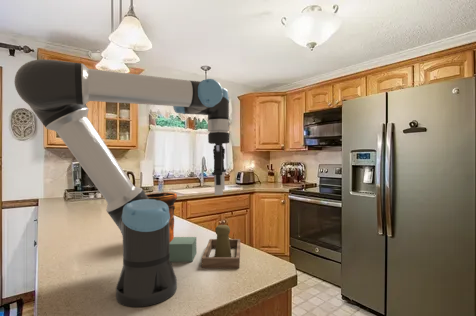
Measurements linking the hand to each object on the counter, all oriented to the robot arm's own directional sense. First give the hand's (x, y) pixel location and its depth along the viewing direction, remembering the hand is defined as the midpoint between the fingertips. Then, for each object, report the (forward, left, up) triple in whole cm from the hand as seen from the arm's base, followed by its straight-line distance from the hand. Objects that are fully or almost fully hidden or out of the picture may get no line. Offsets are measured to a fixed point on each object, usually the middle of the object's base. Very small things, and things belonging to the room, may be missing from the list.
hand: (220, 192), depth 96 cm
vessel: (+16, +27, -23) cm, 39 cm away
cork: (0, -1, -23) cm, 23 cm away
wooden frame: (0, -1, -23) cm, 23 cm away
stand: (-1, +13, -23) cm, 26 cm away
